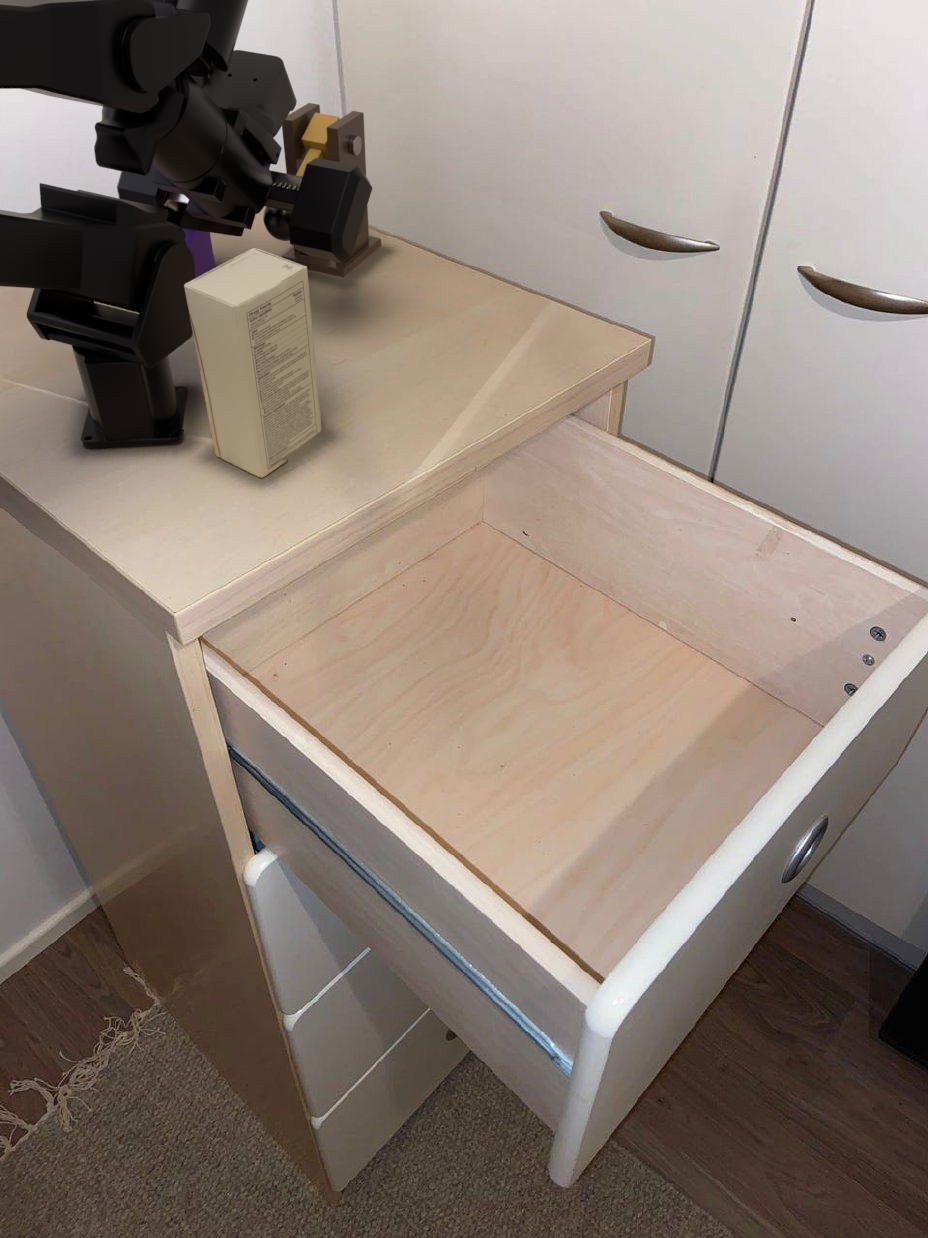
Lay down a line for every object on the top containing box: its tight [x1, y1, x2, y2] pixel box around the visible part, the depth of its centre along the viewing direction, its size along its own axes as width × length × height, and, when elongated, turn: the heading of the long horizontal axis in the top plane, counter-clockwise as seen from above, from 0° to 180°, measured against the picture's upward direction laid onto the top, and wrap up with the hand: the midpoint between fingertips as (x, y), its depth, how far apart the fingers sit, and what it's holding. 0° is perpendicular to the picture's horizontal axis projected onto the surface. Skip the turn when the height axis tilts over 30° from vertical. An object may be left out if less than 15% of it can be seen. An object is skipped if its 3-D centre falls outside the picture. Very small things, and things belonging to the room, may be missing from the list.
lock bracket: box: [280, 102, 382, 278], centre depth 81 cm, size 7×6×12 cm
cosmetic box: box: [184, 247, 322, 479], centre depth 61 cm, size 6×4×12 cm
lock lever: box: [262, 112, 341, 242], centre depth 77 cm, size 11×3×3 cm, turn 157°
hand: (291, 241), depth 78 cm, fingers open, 9 cm apart
